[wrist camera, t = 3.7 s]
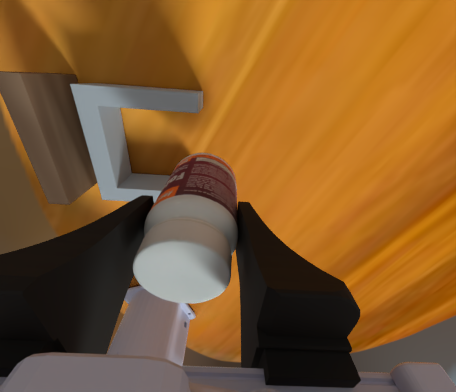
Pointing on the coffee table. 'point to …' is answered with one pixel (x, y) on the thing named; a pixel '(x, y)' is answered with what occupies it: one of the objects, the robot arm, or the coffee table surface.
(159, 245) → the pill bottle
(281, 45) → the coffee table surface
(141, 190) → the cradle
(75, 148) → the wall
